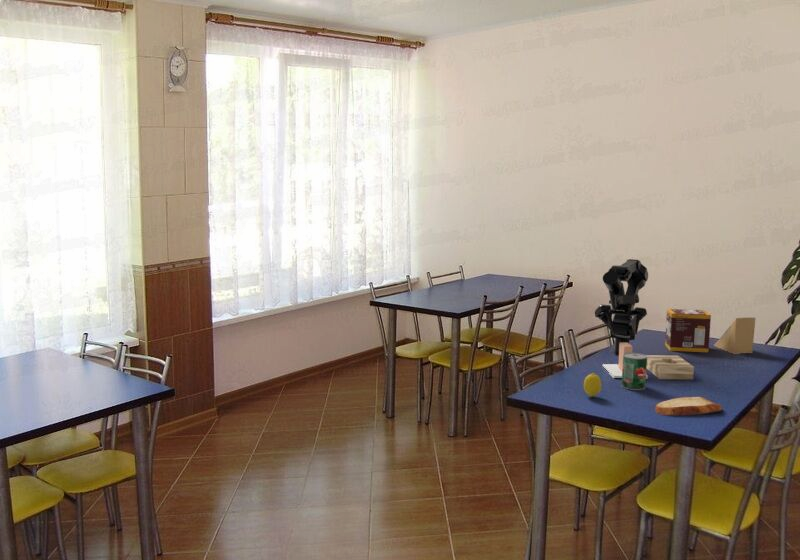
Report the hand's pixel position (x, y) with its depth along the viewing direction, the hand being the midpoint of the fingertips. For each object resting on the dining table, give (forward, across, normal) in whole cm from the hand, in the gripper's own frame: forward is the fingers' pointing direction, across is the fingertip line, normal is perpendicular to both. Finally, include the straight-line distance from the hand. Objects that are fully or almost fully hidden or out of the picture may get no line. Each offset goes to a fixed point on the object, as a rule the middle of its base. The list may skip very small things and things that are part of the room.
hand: (624, 332), depth 289 cm
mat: (+15, -1, +3) cm, 15 cm away
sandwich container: (-6, +59, +20) cm, 63 cm away
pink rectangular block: (+14, -2, +2) cm, 14 cm away
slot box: (+15, +14, 0) cm, 21 cm away
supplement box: (-7, +41, +24) cm, 48 cm away
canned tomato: (+26, -7, -10) cm, 29 cm away
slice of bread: (+42, -2, -31) cm, 52 cm away
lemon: (+33, -26, -16) cm, 45 cm away
